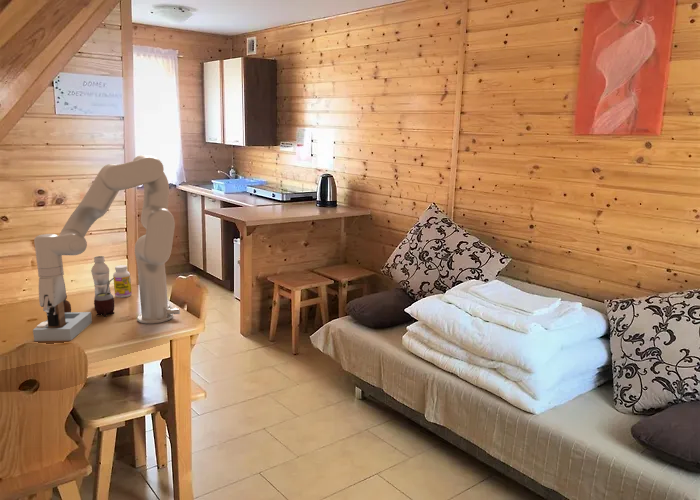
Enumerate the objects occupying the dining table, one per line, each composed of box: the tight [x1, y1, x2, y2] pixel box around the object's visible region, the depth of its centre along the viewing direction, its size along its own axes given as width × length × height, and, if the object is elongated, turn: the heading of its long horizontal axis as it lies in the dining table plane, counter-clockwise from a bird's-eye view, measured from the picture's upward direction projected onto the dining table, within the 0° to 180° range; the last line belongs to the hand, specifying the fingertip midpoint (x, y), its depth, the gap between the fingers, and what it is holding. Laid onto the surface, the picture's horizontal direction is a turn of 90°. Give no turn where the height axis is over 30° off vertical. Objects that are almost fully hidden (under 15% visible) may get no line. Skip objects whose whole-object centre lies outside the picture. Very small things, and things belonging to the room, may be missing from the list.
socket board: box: [32, 311, 93, 342], centre depth 199 cm, size 12×18×5 cm, turn 3°
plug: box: [46, 301, 66, 328], centre depth 193 cm, size 4×4×10 cm
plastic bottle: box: [90, 255, 112, 299], centre depth 225 cm, size 6×7×20 cm
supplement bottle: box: [112, 264, 133, 299], centre depth 240 cm, size 7×7×13 cm
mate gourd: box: [93, 277, 115, 318], centre depth 215 cm, size 8×8×15 cm
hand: (57, 323), depth 193 cm, fingers closed on plug, 3 cm apart
